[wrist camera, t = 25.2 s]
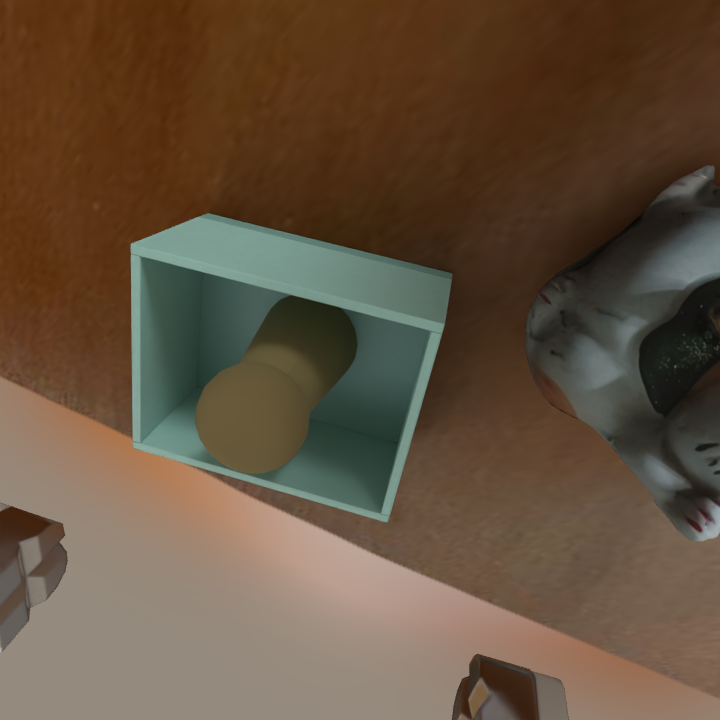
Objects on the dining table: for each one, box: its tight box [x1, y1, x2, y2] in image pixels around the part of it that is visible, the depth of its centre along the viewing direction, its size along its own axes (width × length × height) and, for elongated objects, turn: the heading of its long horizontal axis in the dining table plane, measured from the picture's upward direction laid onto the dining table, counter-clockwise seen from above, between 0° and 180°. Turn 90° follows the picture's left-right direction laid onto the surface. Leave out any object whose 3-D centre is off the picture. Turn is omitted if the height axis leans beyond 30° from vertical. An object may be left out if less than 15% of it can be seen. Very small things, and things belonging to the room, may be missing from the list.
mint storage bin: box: [131, 213, 453, 522], centre depth 30 cm, size 8×15×12 cm
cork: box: [195, 295, 358, 473], centre depth 28 cm, size 6×6×11 cm
